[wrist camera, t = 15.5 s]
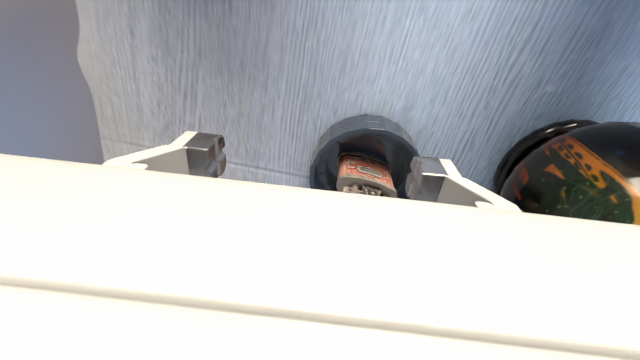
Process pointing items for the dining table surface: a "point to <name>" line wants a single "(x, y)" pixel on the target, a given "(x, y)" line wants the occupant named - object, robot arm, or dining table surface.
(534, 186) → the amphora vase
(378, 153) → the bowl
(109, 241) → the robot arm
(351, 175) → the lighter
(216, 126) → the dining table surface
